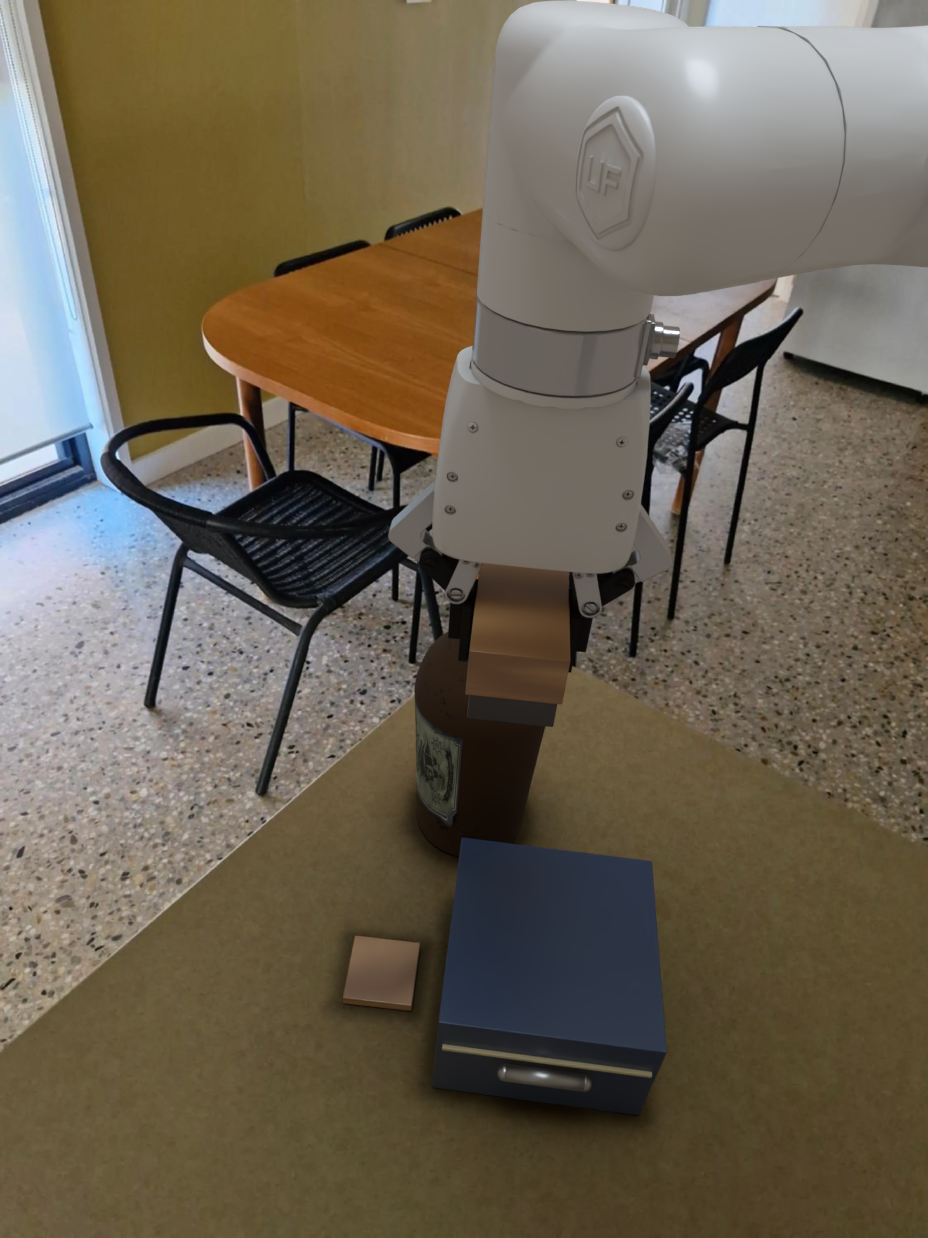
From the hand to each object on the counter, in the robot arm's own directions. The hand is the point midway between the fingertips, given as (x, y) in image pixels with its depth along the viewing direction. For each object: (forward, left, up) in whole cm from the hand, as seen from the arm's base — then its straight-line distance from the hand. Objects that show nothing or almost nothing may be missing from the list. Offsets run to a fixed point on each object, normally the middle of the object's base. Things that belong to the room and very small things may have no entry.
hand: (515, 648), depth 51 cm
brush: (0, 0, -1) cm, 1 cm away
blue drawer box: (-5, -5, -29) cm, 30 cm away
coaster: (-4, +7, -29) cm, 30 cm away
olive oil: (+12, +2, -30) cm, 32 cm away
